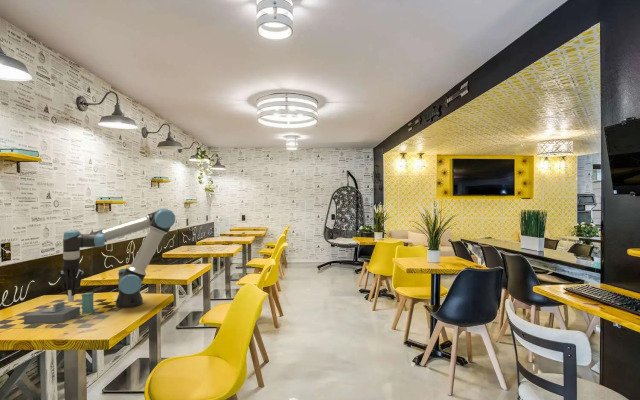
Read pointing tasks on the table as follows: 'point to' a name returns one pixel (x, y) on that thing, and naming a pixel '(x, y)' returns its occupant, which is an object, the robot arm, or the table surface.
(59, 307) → the shutter
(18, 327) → the table surface
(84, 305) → the plug
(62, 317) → the socket
